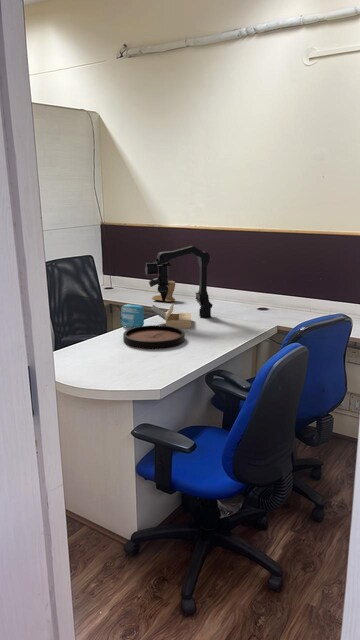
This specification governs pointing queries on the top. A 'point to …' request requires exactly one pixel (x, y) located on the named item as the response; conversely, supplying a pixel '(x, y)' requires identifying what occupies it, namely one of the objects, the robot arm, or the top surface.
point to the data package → (132, 315)
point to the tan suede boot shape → (169, 295)
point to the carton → (179, 320)
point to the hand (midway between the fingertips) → (163, 300)
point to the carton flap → (161, 313)
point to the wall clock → (154, 337)
